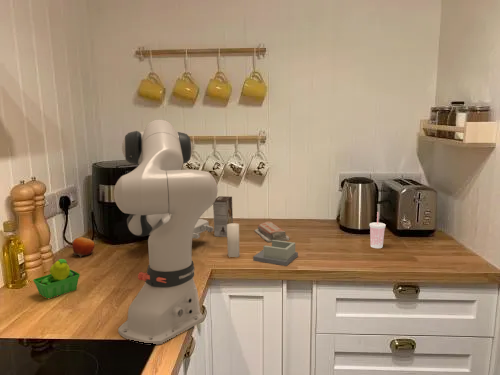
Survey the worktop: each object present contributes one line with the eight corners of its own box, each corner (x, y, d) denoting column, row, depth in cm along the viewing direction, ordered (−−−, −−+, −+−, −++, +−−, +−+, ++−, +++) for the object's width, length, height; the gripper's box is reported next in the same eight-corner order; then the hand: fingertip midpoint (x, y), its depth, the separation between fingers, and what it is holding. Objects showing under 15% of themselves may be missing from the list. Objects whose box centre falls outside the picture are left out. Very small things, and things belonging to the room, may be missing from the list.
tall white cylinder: (235, 258, 155) (235, 226, 153) (225, 256, 157) (224, 225, 155) (241, 254, 159) (241, 224, 157) (231, 253, 161) (230, 222, 159)
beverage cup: (382, 244, 169) (384, 210, 166) (386, 249, 163) (387, 213, 160) (367, 243, 169) (368, 209, 167) (370, 248, 163) (371, 213, 161)
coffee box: (219, 230, 192) (218, 195, 189) (233, 231, 190) (232, 196, 187) (213, 236, 183) (212, 200, 180) (228, 237, 181) (227, 200, 178)
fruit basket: (70, 283, 135) (66, 249, 133) (84, 290, 130) (81, 255, 128) (33, 295, 127) (29, 259, 125) (47, 303, 121) (43, 266, 119)
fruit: (63, 254, 159) (71, 233, 161) (79, 258, 165) (86, 239, 168) (78, 257, 155) (86, 236, 157) (94, 261, 162) (101, 241, 164)
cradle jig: (286, 266, 147) (286, 250, 146) (253, 260, 153) (253, 245, 152) (297, 256, 157) (297, 242, 156) (266, 251, 162) (266, 237, 161)
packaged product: (290, 230, 175) (267, 232, 172) (290, 241, 176) (268, 244, 173) (274, 219, 192) (253, 221, 189) (274, 229, 193) (253, 232, 190)
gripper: (159, 227, 159) (189, 231, 153) (191, 215, 177) (219, 218, 171) (160, 243, 160) (190, 248, 154) (191, 229, 178) (219, 233, 172)
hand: (205, 232), depth 163 cm, fingers open, 8 cm apart
